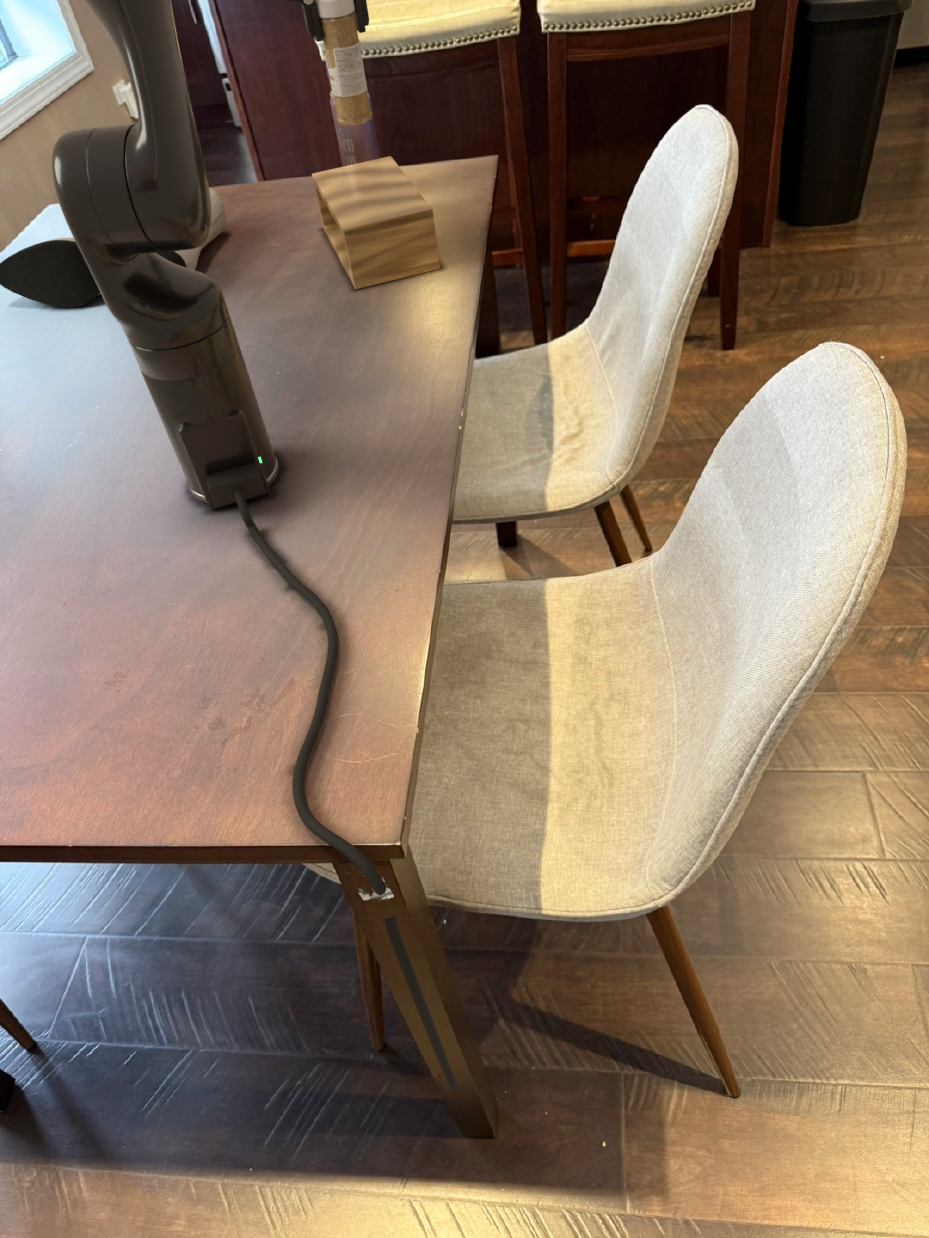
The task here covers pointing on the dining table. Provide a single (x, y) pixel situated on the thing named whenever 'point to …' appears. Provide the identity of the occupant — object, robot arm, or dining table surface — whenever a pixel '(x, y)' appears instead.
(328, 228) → the box
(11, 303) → the dining table surface
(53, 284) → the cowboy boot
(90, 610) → the dining table surface
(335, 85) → the sprinkles bottle
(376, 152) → the beverage can
